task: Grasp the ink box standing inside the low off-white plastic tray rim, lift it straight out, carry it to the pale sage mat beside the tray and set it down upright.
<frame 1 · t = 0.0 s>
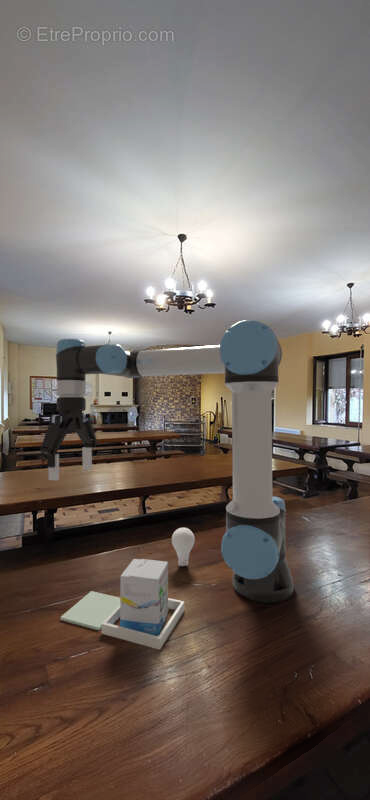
hand: (71, 474, 93), 28 cm above the table, fingers open, 13 cm apart
ink box: (145, 622, 74), resting in tray rim
mat: (94, 610, 78), on the table
tray rim: (145, 621, 74), on the table
light bulb: (183, 567, 98), on the table
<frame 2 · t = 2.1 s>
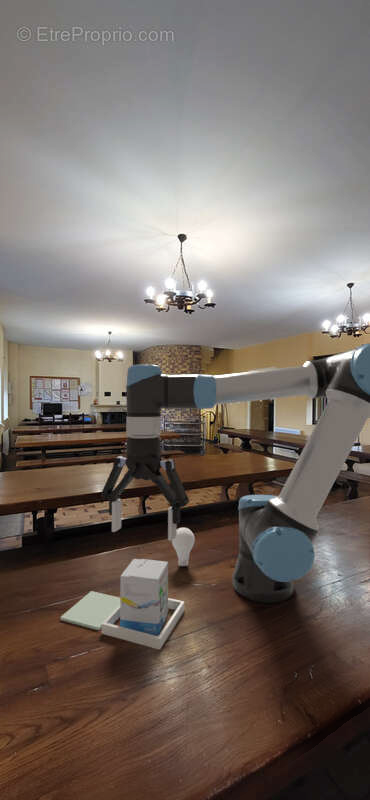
hand: (143, 534, 74), 19 cm above the table, fingers open, 13 cm apart
nothing on the table moved.
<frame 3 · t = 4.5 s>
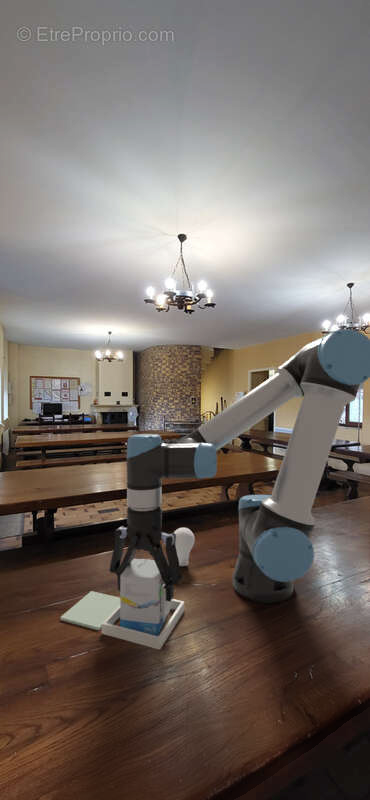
hand: (145, 609, 74), 3 cm above the table, fingers closed on ink box, 9 cm apart
ink box: (145, 622, 74), resting in tray rim, touching gripper
everything else where it was.
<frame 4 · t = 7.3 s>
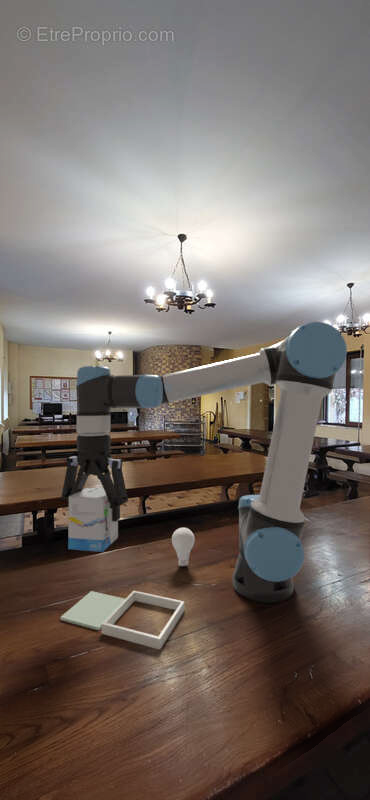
hand: (94, 532, 78), 18 cm above the table, fingers closed on ink box, 9 cm apart
ink box: (94, 544, 78), point 15 cm above the table, touching gripper
everything else where it was.
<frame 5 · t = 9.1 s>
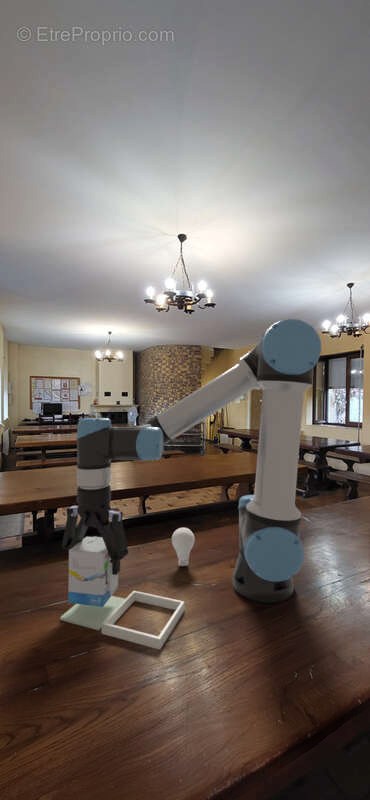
hand: (94, 583, 78), 6 cm above the table, fingers closed on ink box, 9 cm apart
ink box: (94, 595, 78), point 3 cm above the table, touching gripper
everything else where it was.
when the fingers open (4 cm above the table, at t = 10.4 s): ink box drops 1 cm, resting on mat.
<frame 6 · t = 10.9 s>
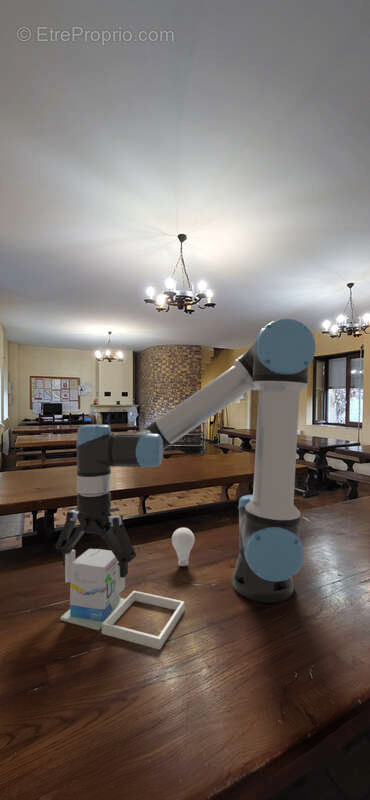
hand: (94, 585, 78), 6 cm above the table, fingers open, 13 cm apart
ink box: (96, 608, 78), resting on mat
everything else where it was.
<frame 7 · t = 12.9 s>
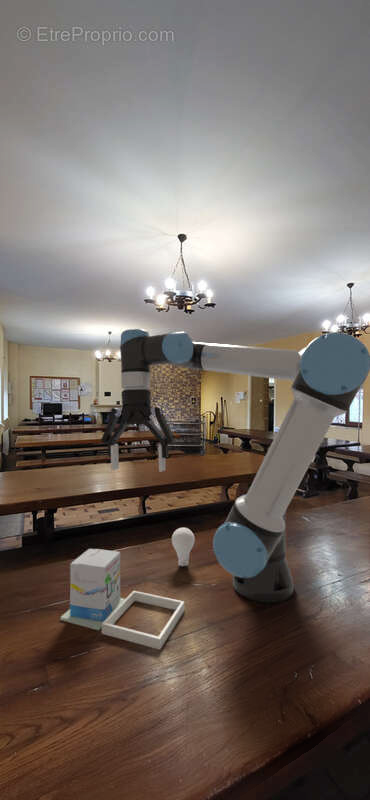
hand: (138, 470, 89), 30 cm above the table, fingers open, 13 cm apart
nothing on the table moved.
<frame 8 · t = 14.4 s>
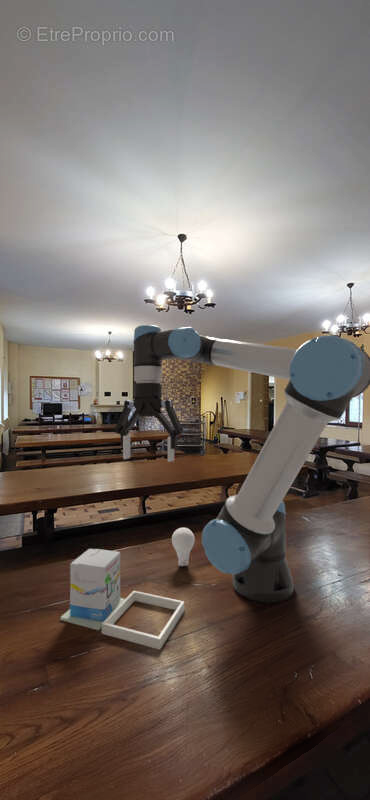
hand: (148, 459, 94), 32 cm above the table, fingers open, 13 cm apart
nothing on the table moved.
at the end: ink box inside the target area on the mat (0.4 cm from its centre), point 0.4 cm above the mat's base; ink box tilted 0°; the gripper is holding nothing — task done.
